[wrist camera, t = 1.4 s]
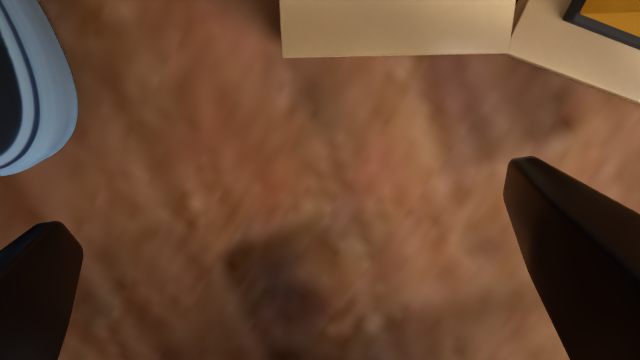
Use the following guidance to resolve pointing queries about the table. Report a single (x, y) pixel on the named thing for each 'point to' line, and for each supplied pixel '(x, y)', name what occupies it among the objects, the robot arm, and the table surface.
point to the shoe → (32, 88)
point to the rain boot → (608, 19)
